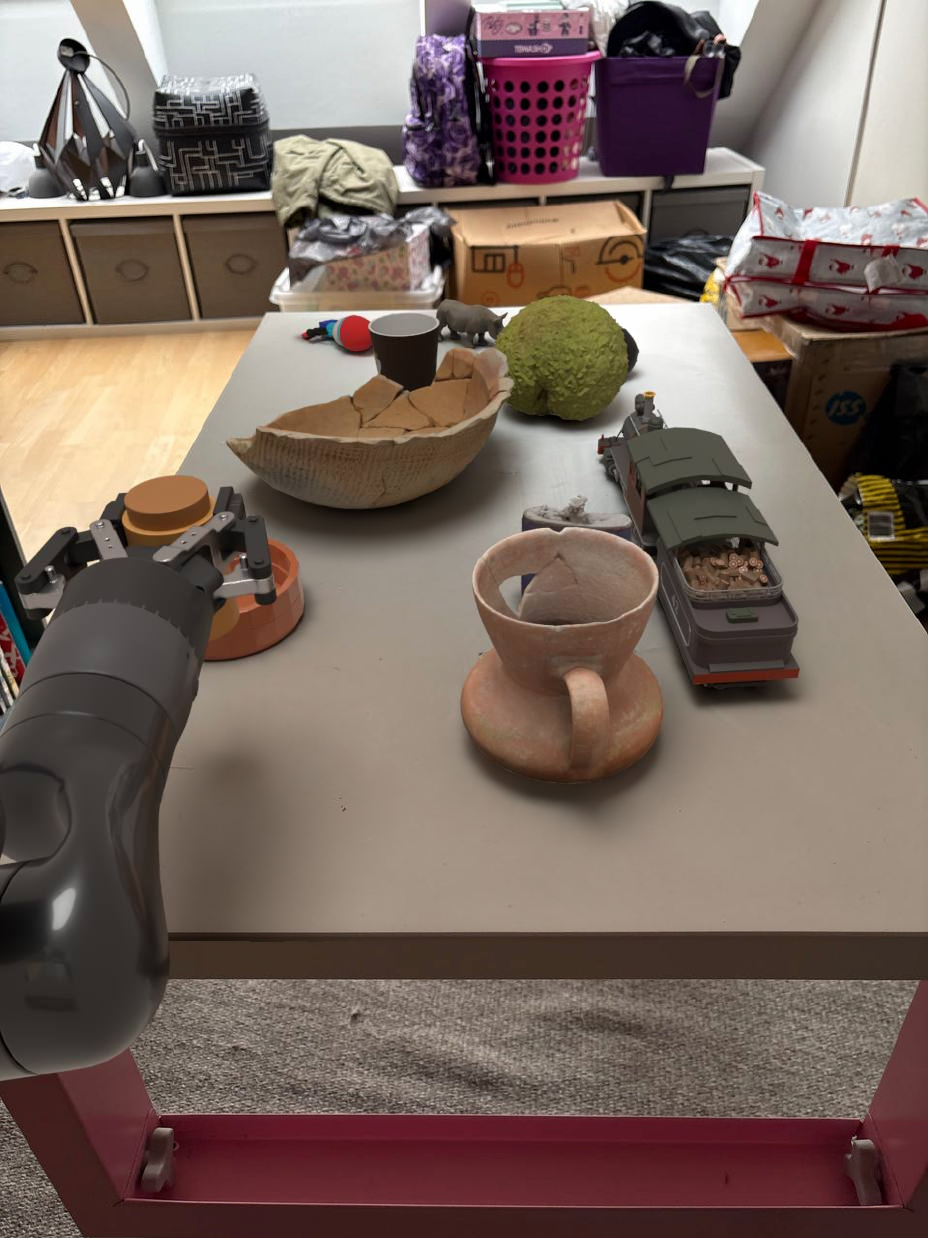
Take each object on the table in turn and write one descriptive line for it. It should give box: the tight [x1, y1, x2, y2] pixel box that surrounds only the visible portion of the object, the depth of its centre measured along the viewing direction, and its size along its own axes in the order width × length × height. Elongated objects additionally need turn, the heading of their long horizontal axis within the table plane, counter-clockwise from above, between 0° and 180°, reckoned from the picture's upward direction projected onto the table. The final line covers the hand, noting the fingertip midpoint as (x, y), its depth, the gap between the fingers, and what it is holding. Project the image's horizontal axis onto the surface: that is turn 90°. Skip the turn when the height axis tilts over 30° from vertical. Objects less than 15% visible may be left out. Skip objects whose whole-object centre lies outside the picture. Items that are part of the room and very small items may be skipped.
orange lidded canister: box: [122, 474, 240, 642], centre depth 59 cm, size 6×6×9 cm
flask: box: [520, 494, 634, 598], centre depth 81 cm, size 9×3×11 cm, turn 78°
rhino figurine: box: [435, 298, 509, 350], centre depth 136 cm, size 4×14×6 cm, turn 54°
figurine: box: [622, 327, 640, 375], centre depth 130 cm, size 8×7×18 cm
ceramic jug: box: [459, 527, 665, 785], centre depth 66 cm, size 18×14×14 cm
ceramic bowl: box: [225, 346, 515, 510], centre depth 100 cm, size 30×27×15 cm
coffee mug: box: [368, 312, 439, 392], centre depth 120 cm, size 12×9×10 cm
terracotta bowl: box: [203, 538, 305, 661], centre depth 83 cm, size 13×13×4 cm
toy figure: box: [300, 314, 372, 352], centre depth 139 cm, size 8×5×15 cm
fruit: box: [494, 294, 629, 422], centre depth 114 cm, size 16×14×15 cm
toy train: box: [597, 390, 801, 690], centre depth 88 cm, size 45×9×11 cm, turn 3°
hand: (179, 503), depth 60 cm, fingers closed on orange lidded canister, 5 cm apart
